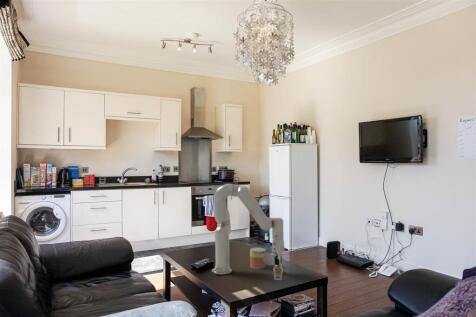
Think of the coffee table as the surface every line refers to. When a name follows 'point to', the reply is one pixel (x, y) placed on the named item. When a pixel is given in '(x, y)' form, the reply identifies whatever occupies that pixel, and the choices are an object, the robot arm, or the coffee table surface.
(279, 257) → the pin
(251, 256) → the canned food
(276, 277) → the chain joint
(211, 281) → the coffee table surface
